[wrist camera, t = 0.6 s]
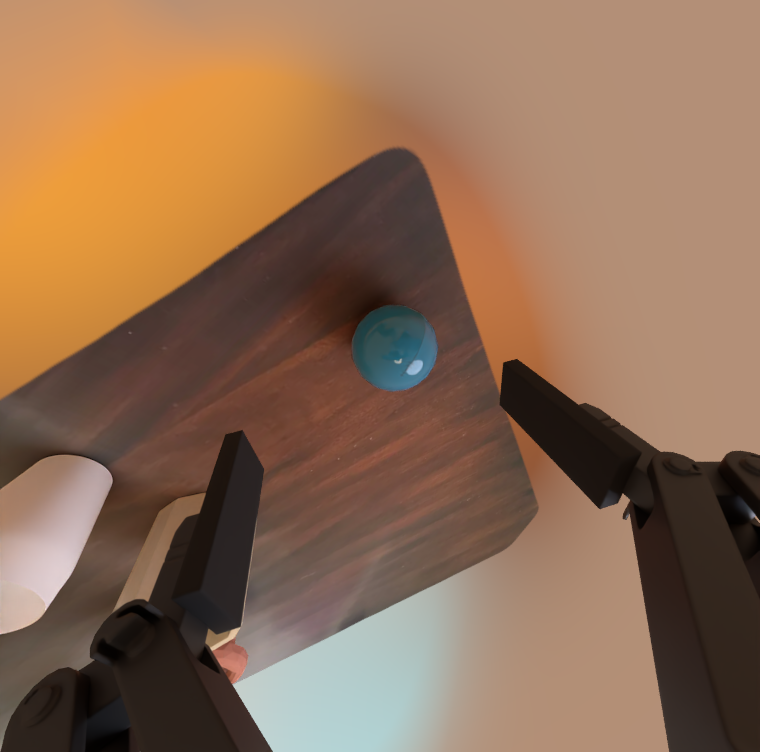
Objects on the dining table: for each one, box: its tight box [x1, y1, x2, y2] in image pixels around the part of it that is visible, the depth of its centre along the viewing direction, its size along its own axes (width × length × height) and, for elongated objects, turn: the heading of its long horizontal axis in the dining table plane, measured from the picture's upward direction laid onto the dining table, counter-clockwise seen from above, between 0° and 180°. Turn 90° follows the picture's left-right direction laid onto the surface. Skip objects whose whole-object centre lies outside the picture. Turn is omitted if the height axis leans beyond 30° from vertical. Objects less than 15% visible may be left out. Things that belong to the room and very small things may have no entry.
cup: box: [0, 455, 113, 634], centre depth 26 cm, size 9×9×12 cm
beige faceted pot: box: [113, 492, 257, 651], centre depth 34 cm, size 12×12×12 cm
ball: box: [351, 305, 438, 392], centre depth 27 cm, size 8×8×8 cm
